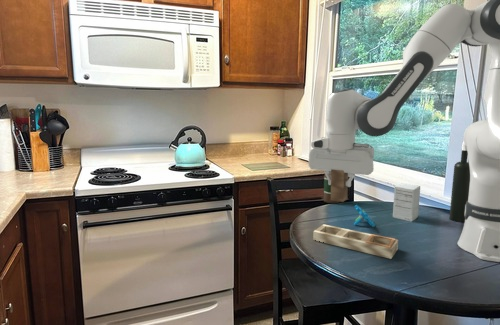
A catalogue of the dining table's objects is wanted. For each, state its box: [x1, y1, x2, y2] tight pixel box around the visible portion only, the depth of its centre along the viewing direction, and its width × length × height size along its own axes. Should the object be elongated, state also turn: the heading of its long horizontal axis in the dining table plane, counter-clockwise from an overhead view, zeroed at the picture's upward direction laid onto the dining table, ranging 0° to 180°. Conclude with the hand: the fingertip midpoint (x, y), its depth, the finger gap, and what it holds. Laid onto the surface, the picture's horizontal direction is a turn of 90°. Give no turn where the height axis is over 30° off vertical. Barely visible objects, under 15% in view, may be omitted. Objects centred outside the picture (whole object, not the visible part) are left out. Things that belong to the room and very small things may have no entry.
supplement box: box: [392, 182, 421, 223], centre depth 133 cm, size 7×7×13 cm
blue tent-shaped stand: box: [353, 204, 376, 228], centre depth 126 cm, size 11×6×10 cm
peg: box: [331, 169, 349, 203], centre depth 110 cm, size 4×4×10 cm
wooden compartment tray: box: [312, 223, 399, 260], centre depth 109 cm, size 24×8×3 cm, turn 55°
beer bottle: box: [323, 174, 340, 204], centre depth 154 cm, size 8×8×24 cm
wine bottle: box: [449, 140, 470, 223], centre depth 128 cm, size 6×6×30 cm
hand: (339, 185), depth 110 cm, fingers closed on peg, 4 cm apart
